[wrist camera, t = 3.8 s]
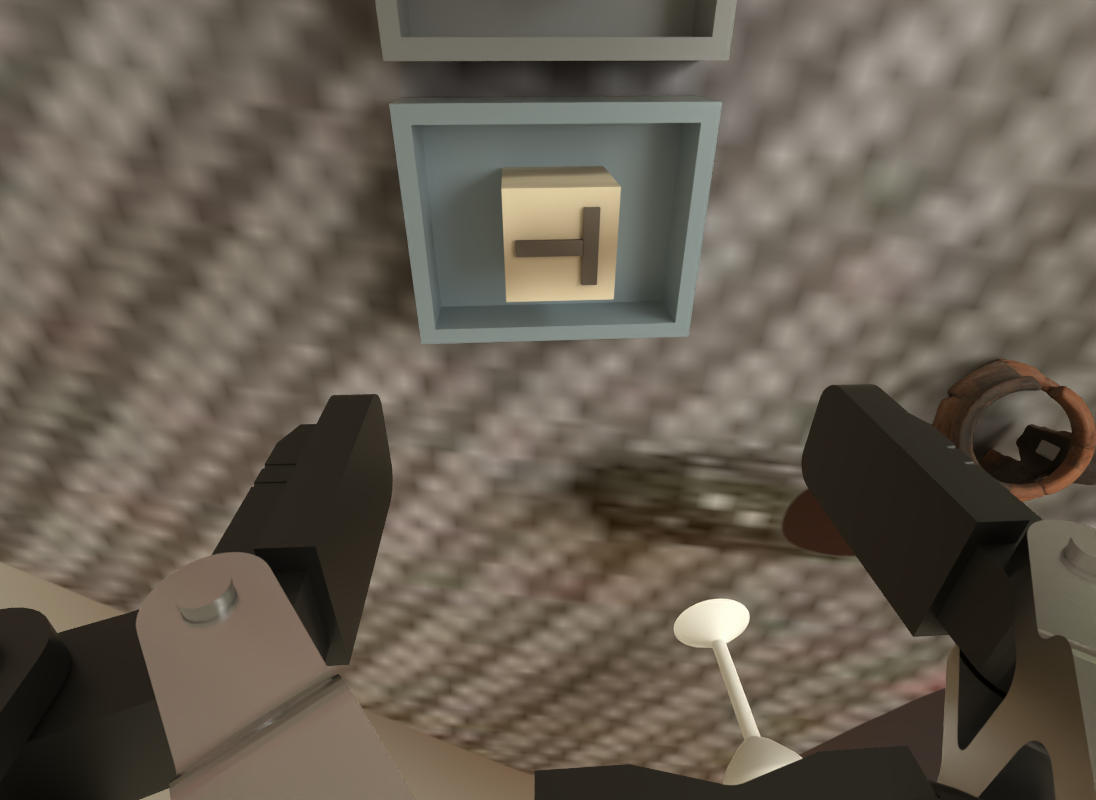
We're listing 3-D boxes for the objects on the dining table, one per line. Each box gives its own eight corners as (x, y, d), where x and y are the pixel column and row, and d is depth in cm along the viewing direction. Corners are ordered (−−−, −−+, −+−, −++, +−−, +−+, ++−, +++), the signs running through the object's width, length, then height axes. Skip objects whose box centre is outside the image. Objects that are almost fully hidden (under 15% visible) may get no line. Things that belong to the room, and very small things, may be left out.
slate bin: (402, 97, 26) (389, 103, 23) (697, 95, 27) (722, 101, 24) (429, 316, 32) (421, 344, 29) (671, 309, 33) (688, 336, 30)
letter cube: (502, 167, 27) (501, 189, 23) (603, 166, 28) (621, 187, 23) (506, 266, 30) (506, 303, 26) (598, 264, 30) (614, 300, 26)
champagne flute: (764, 622, 49) (946, 1026, 29) (700, 657, 51) (829, 1056, 31) (723, 587, 46) (893, 1008, 26) (657, 625, 48) (768, 1042, 28)
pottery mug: (869, 475, 41) (930, 502, 33) (897, 349, 41) (966, 345, 32) (1044, 508, 40) (1153, 545, 32) (1077, 378, 39) (1197, 381, 31)
